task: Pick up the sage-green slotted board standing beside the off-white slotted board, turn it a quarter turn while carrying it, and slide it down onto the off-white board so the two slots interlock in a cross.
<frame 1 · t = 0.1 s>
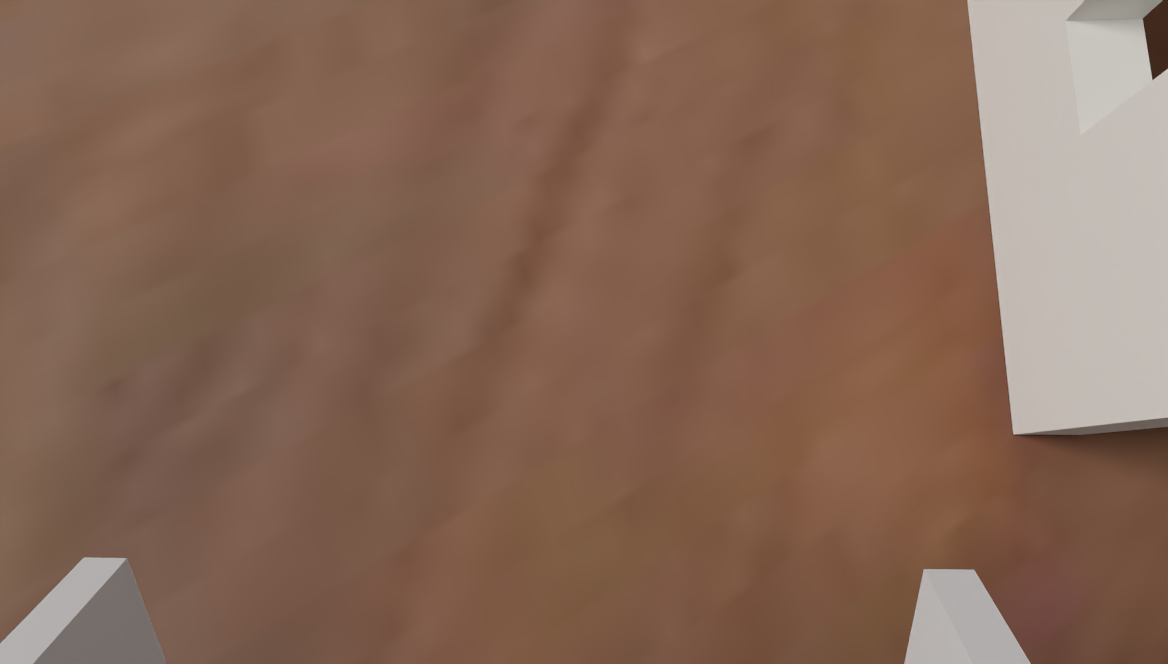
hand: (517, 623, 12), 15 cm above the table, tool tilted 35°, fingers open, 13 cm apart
white board: (1015, 156, 29), on the table
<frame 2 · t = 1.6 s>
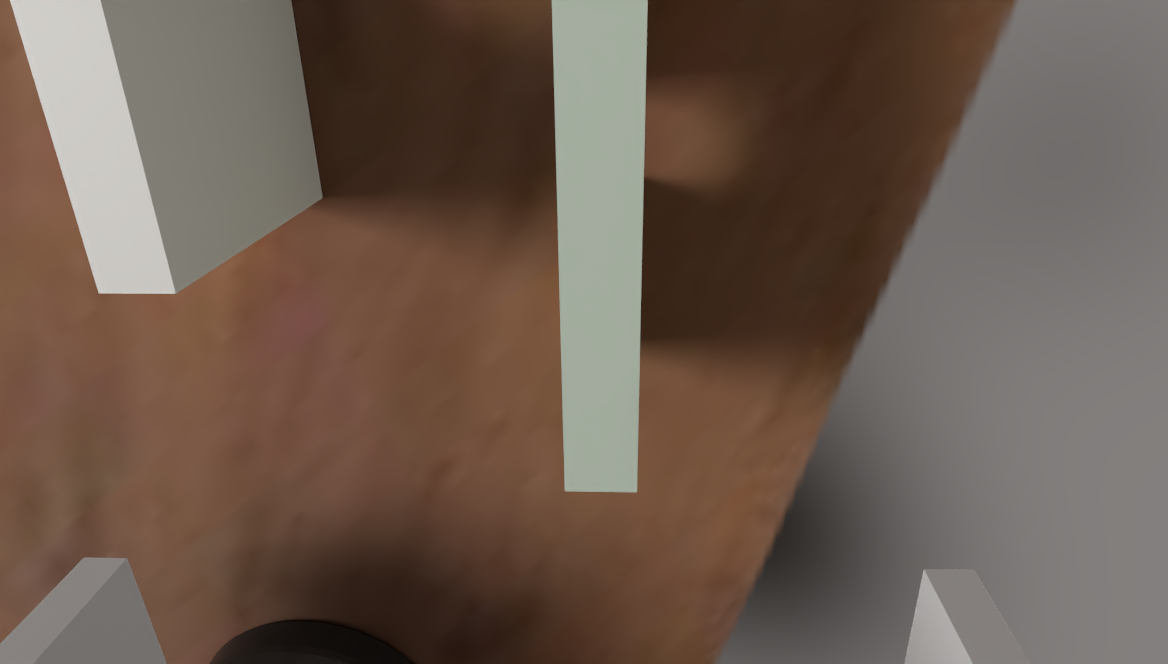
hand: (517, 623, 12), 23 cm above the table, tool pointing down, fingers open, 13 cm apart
green board: (606, 128, 31), on the table
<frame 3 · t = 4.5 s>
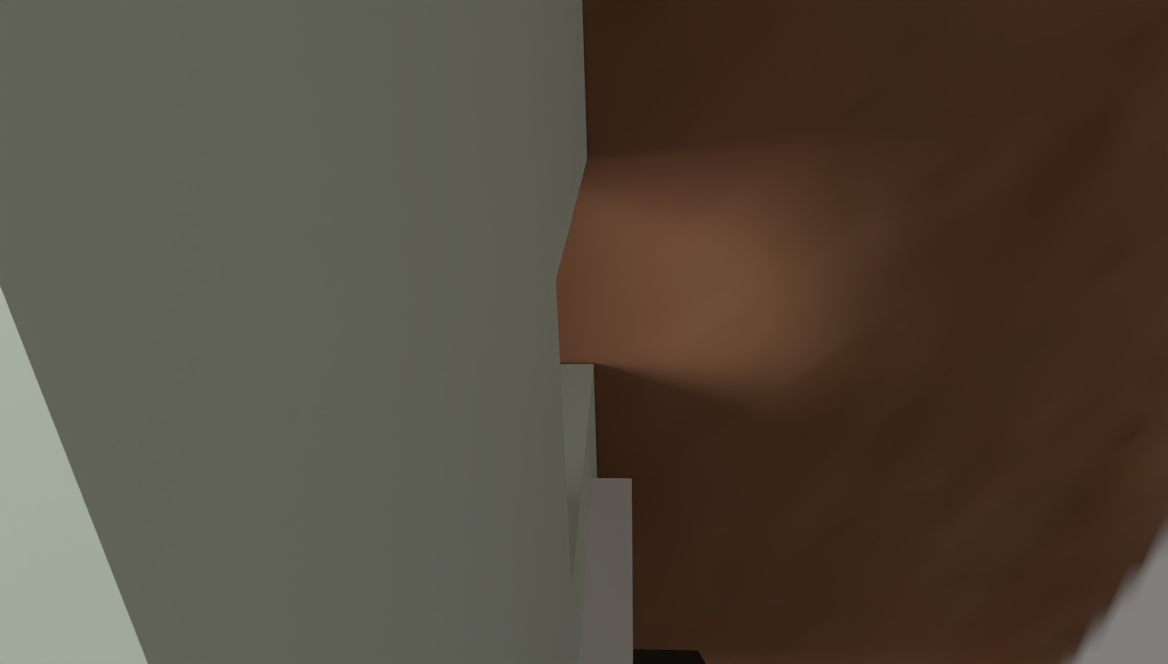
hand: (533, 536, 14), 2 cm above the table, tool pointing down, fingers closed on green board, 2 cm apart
green board: (526, 268, 14), on the table, touching gripper
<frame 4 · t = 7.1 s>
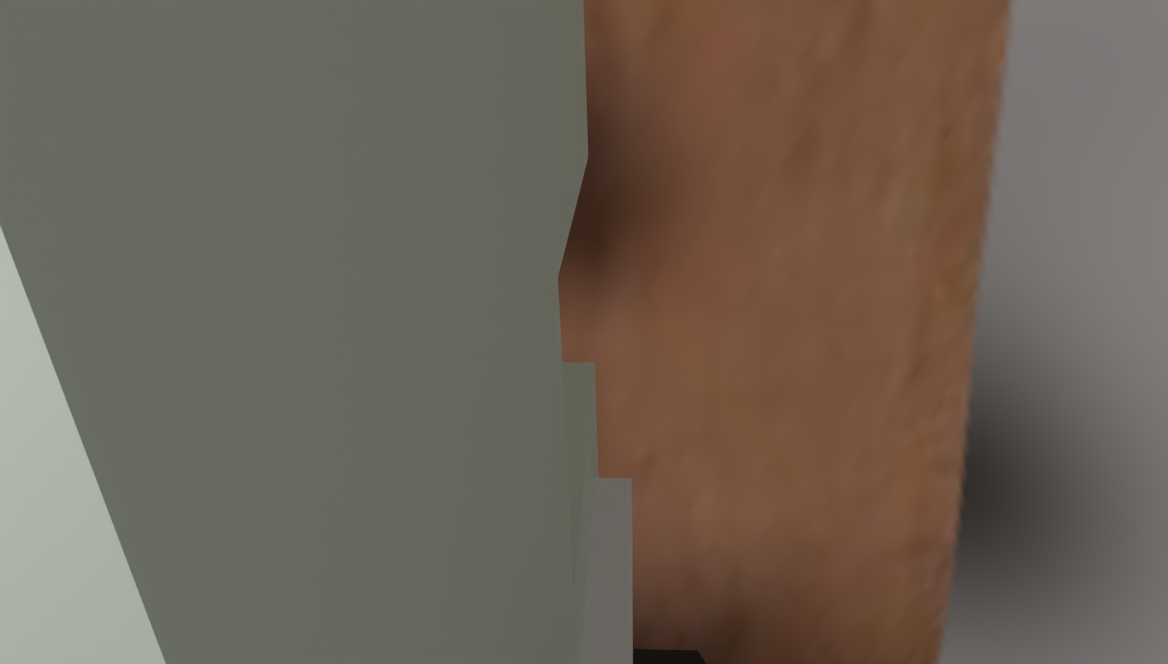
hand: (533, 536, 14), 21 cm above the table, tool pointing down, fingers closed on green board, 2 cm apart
green board: (527, 267, 14), point 19 cm above the table, touching gripper
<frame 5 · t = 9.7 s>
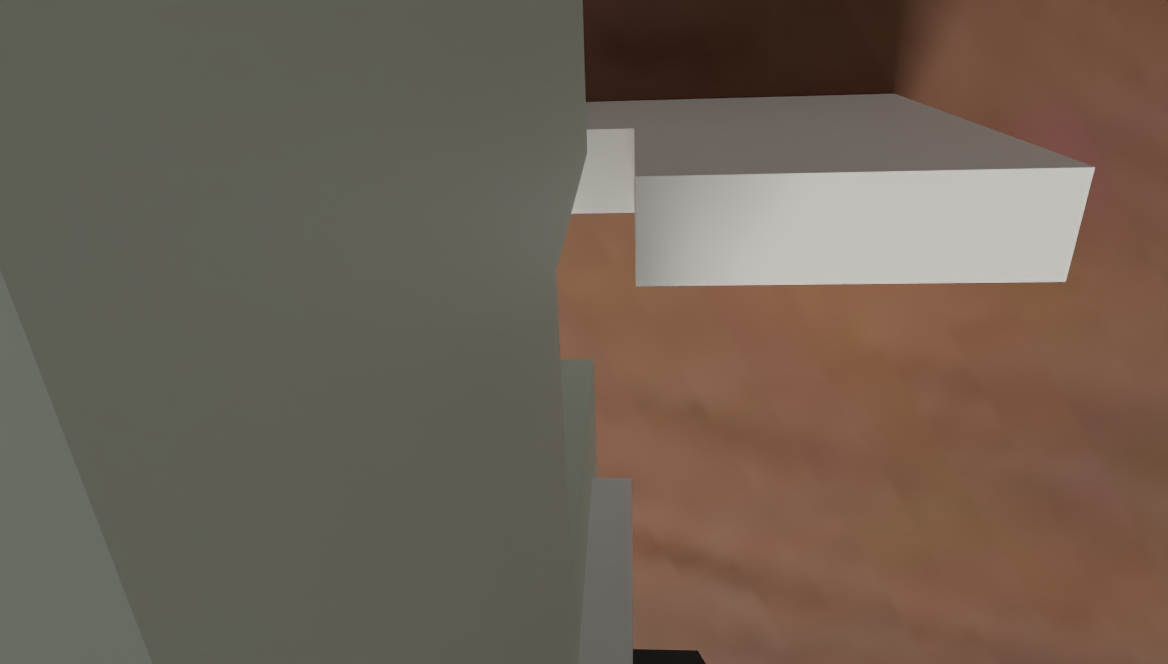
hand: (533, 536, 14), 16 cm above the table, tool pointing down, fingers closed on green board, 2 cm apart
green board: (525, 263, 14), point 14 cm above the table, touching gripper
white board: (578, 136, 26), on the table
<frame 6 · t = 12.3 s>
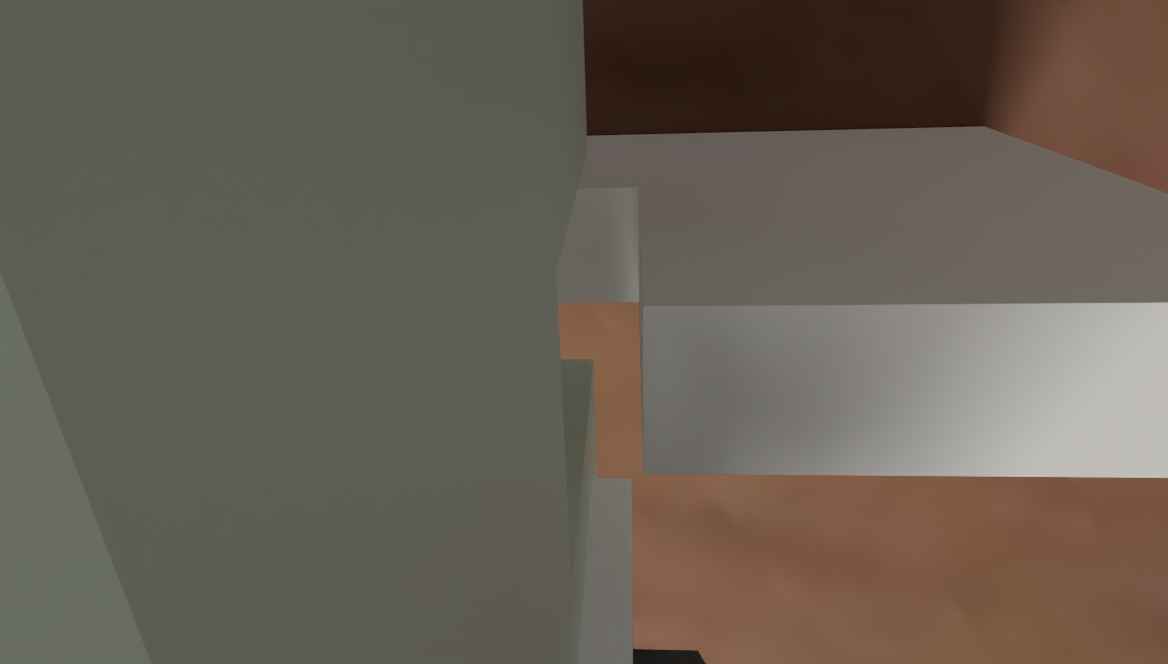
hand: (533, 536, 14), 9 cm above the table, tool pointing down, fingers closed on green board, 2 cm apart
green board: (525, 263, 14), point 7 cm above the table, touching gripper
white board: (564, 180, 20), on the table
when the fingers open (2 cm above the table, at t = 14.8 s): green board stays where it is, resting on white board.
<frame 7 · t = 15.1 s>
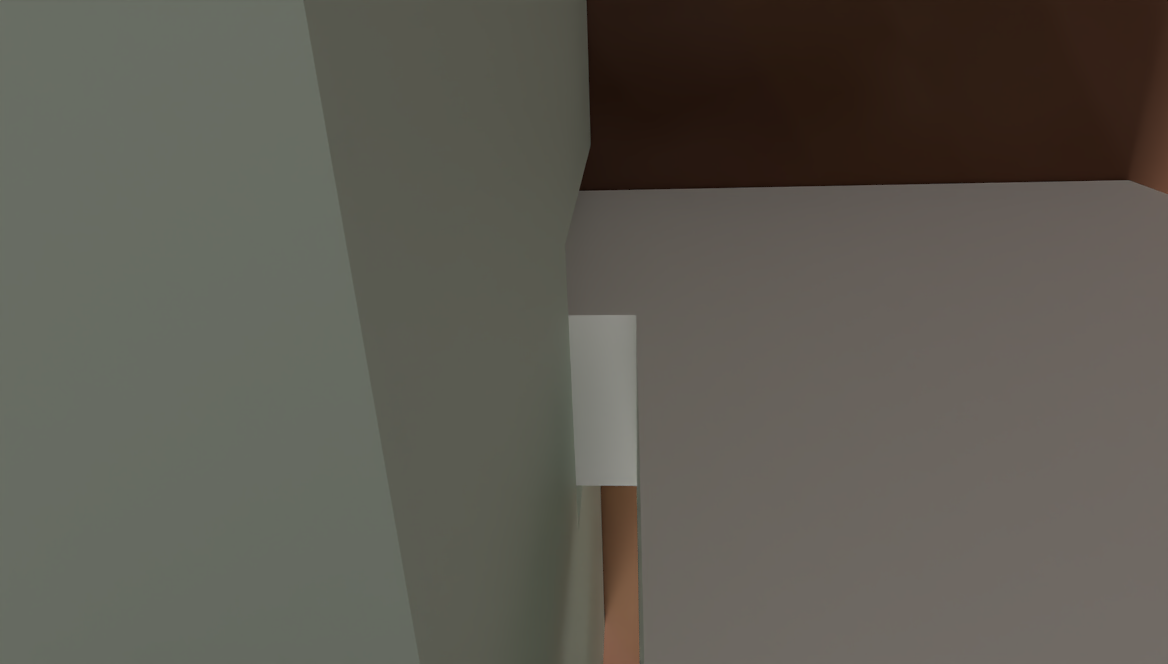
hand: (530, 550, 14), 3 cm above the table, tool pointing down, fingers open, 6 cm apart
green board: (533, 248, 14), resting on white board
white board: (532, 251, 14), on the table
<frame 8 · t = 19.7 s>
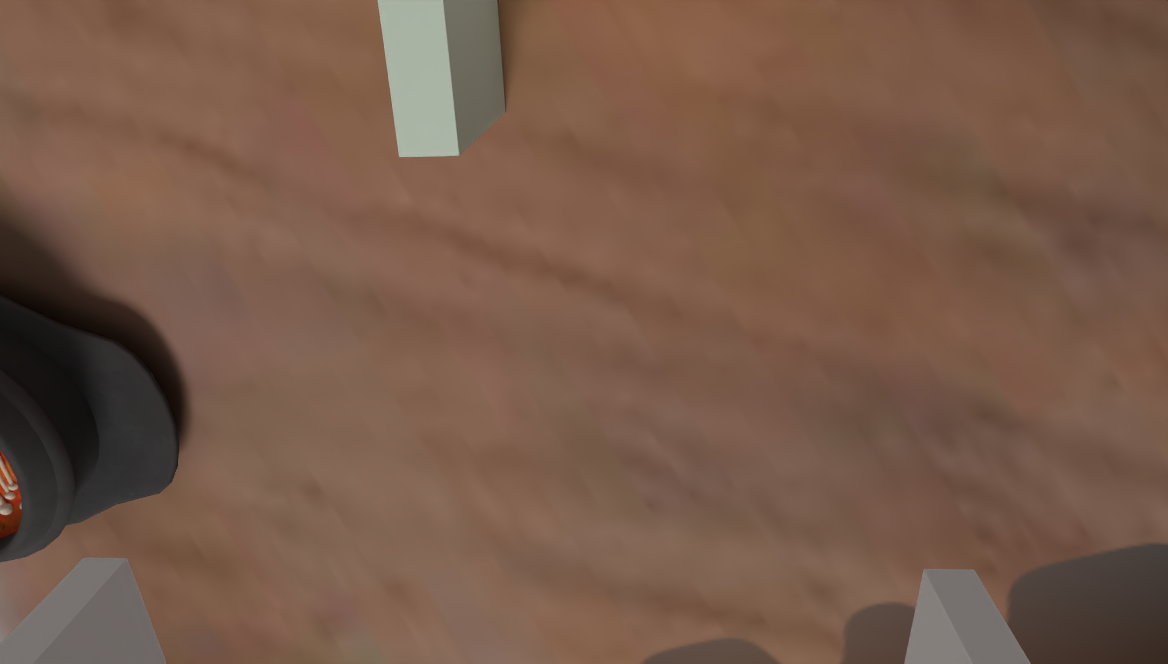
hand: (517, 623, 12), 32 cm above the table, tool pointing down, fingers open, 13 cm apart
casserole: (14, 398, 50), on the table
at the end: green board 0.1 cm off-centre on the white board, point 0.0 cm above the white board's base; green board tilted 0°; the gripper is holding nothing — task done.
